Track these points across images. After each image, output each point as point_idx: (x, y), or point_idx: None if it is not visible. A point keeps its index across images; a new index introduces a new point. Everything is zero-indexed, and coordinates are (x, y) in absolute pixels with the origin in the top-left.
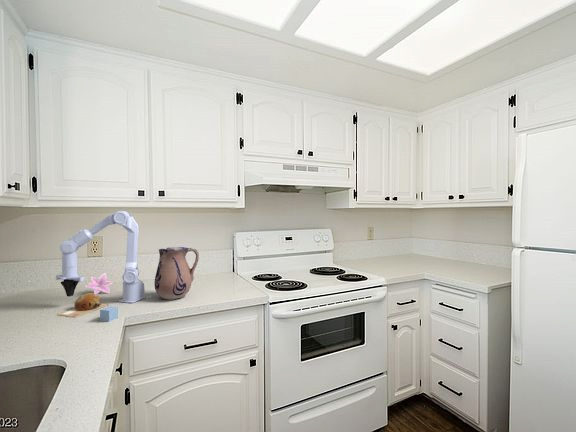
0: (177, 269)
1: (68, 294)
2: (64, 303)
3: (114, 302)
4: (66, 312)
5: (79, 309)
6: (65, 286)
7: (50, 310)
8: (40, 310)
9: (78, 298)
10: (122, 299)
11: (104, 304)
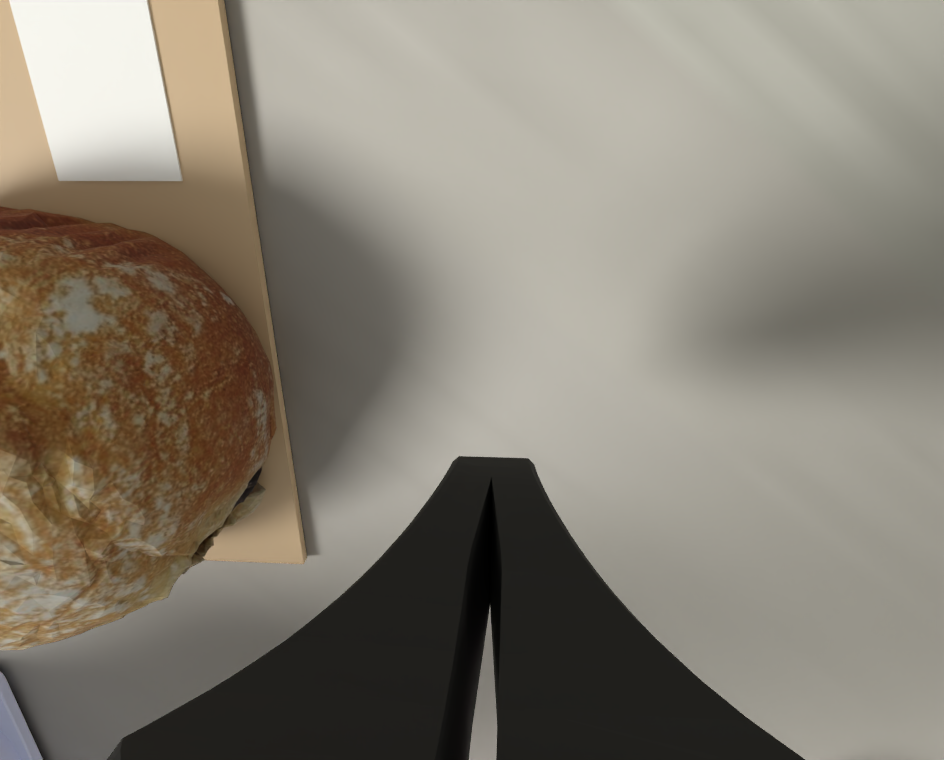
0: None
1: (452, 474)
2: (745, 478)
3: None
4: (142, 42)
5: (11, 209)
6: (509, 649)
7: (655, 95)
8: (888, 27)
9: (30, 372)
10: (9, 724)
11: None
